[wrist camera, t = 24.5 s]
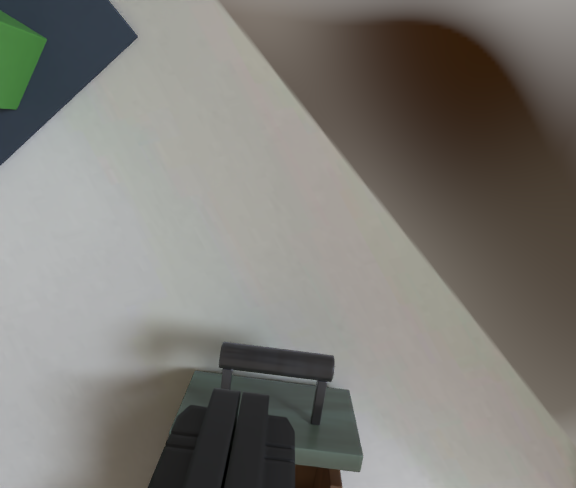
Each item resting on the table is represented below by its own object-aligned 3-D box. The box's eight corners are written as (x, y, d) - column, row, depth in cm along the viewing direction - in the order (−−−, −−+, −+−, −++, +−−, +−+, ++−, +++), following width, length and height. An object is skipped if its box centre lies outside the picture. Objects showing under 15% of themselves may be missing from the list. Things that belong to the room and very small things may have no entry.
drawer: (200, 310, 31) (174, 359, 24) (360, 331, 31) (378, 384, 25) (180, 527, 36) (154, 617, 29) (320, 543, 36) (325, 637, 29)
